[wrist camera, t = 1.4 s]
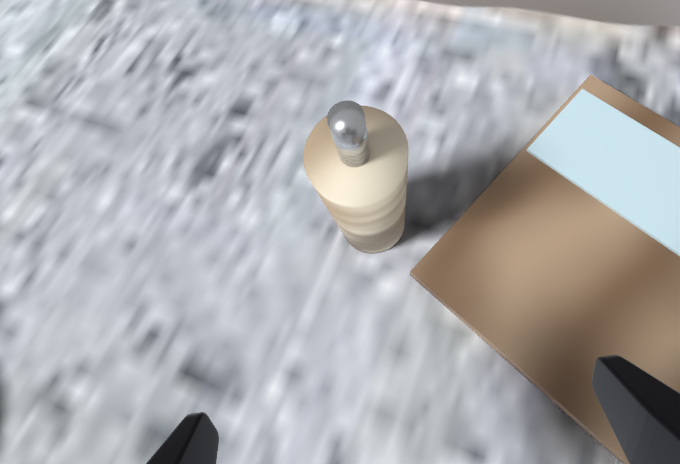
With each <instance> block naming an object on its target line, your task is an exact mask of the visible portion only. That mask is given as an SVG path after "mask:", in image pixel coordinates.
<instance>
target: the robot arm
mask: <svg viewBox="0 0 680 464" xmlns="http://www.w3.org/2000/svg"><path fill="white" fill-rule="evenodd" d="M592 387H593V390H594V393H595V395H596V397H597V399H598V401H599V403H600V405H601V407H602V409H603V411H604V413H605V415H606V417H607V419H608V421H609V423H610V425H611V427H612V429H613V431H614V433H615V435H616V438H617V440H618V442H619V444H620V446H621V448H622V450H623V452H624V454H625V456H626V458H627V460H628V461H629V463H630V464H680V393H679V392H677V391H676V390H674V389H672V388H671V387H669V386H668V385H666V384H665V383H663V382H661V381H660V380H658V379H657V378H655V377H653V376H652V375H650V374H649V373H647V372H645V371H644V370H642V369H641V368H639V367H637V366H636V365H634V364H633V363H631V362H630V361H628V360H626V359H625V358H623V357H621V356H619V355H608V356H601V357H598V358H597V359H596V360H595V365H594V371H593V376H592ZM218 443H219V436H218V432H217V429H216V428H215V426H214V425H213V423H212V422H211V420H210V419H209V417H208V415H207V414H206V413H204V412H200V413H193V414H189V415H187V416H186V417H185V418H184V419H183V420H182V421H181V423H180V424H179V425H178V426H177V427H176V429H175V430H174V431H173V432H172V433H171V435H170V436H169V437H168V438H167V439H166V441H165V442H164V443H163V444H162V445H161V447H160V448H159V449H158V450H157V451H156V453H155V454H154V455H153V456H152V457H151V459H150V460H149V461H148V462H147V463H146V464H216V459H217V451H218Z"/></svg>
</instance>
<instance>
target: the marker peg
mask: <svg viewBox="0 0 680 464" xmlns="http://www.w3.org/2000/svg"><path fill="white" fill-rule="evenodd" d="M303 158H304V167H305V171H306V173H307V176H308V178H309V180H310V181H311V183H312V185H313V186H314V188H315V189H316V191H317V193H318V194H319V196H320V198H321V199H322V201H323V202H324V204H325V206H326V207H327V209H328V210H329V212H330V214H331V215H332V217H333V218H334V220H335V222H336V223H337V225H338V227H339V228H340V230H341V231H342V233H343V235H344V236H345V238H346V239H347V241H348V242H349V243H350V244H351V245H352V246H353V247H354V248H356V249H357V250H359V251H362V252H365V253H380V252H384V251H386V250H388V249H390V248H391V247H393V246H394V245H395V244H396V243H397V242H398V241H399V240H400V238H401V236H402V234H403V231H404V227H405V211H406V191H407V171H408V142H407V139H406V135H405V133H404V131H403V129H402V128H401V126H400V125H399V124H398V122H397V121H396V120H395V119H394V118H393V117H391V116H390V115H389V114H387V113H386V112H384V111H381V110H379V109H376V108H373V107H368V106H360V105H359V104H357V103H356V102H353V101H342V102H339V103H337V104H335V105H334V106H333V107H332V108H331V109H330V111H329V112H328V115H327V116H326V117H324V118H323V119H322V120H321V121H320V122H319V123H318V124H317V125H316V126H315V127H314V128H313V130H312V131H311V133H310V135H309V137H308V139H307V141H306V144H305V148H304V157H303Z"/></svg>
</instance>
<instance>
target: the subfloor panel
mask: <svg viewBox="0 0 680 464" xmlns="http://www.w3.org/2000/svg"><path fill="white" fill-rule="evenodd" d="M410 275H411V276H412V277H413V278H414V279H415V280H416V281H417V282H418V283H420V284H421V285H422V286H423V287H424V288H425V289H426V290H428V291H429V292H430V293H431V294H432V295H433V296H434V297H435V298H437V299H438V300H439V301H440V302H441V303H442V304H443V305H444V306H446V307H447V308H448V309H449V310H450V311H451V312H452V313H454V314H455V315H456V316H457V317H458V318H459V319H460V320H461V321H463V322H464V323H465V324H466V325H467V326H468V327H469V328H470V329H472V330H473V331H474V332H475V333H476V334H477V335H478V336H479V337H481V338H482V339H483V340H484V341H485V342H486V343H487V344H489V345H490V346H491V347H492V348H493V349H494V350H495V351H496V352H498V353H499V354H500V355H501V356H502V357H503V358H504V359H505V360H507V361H508V362H509V363H510V364H511V365H512V366H513V367H515V368H516V369H517V370H518V371H519V372H520V373H521V374H522V375H524V376H525V377H526V378H527V379H528V380H529V381H530V382H531V383H533V384H534V385H535V386H536V387H537V388H538V389H539V390H541V391H542V392H543V393H544V394H545V395H546V396H547V397H548V398H550V399H551V400H552V401H553V402H554V403H555V404H556V405H557V406H559V407H560V408H561V409H562V410H563V411H564V412H565V413H567V414H568V415H569V416H570V417H571V418H572V419H573V420H574V421H576V422H577V423H578V424H579V425H580V426H581V427H582V428H583V429H585V430H586V431H587V432H588V433H589V434H590V435H591V436H592V437H594V438H595V439H596V440H597V441H598V442H599V443H600V444H602V445H603V446H604V447H605V448H606V449H607V450H608V451H609V452H611V453H612V454H613V455H614V456H615V457H616V458H617V459H618V460H620V461H621V462H622V463H623V464H630V463H629V461H628V460H627V458H626V456H625V454H624V452H623V450H622V448H621V446H620V444H619V442H618V440H617V438H616V435H615V433H614V431H613V429H612V427H611V425H610V423H609V421H608V419H607V417H606V415H605V413H604V411H603V409H602V407H601V405H600V403H599V401H598V399H597V397H596V395H595V393H594V390H593V387H592V376H593V371H594V365H595V360H596V359H597V358H598V357H601V356H608V355H619V356H621V357H623V358H625V359H626V360H628V361H630V362H631V363H633V364H634V365H636V366H637V367H639V368H641V369H642V370H644V371H645V372H647V373H649V374H650V375H652V376H653V377H655V378H657V379H658V380H660V381H661V382H663V383H665V384H666V385H668V386H669V387H671V388H672V389H674V390H676V391H677V392H679V393H680V127H678V126H677V125H675V124H673V123H671V122H670V121H668V120H666V119H665V118H663V117H661V116H660V115H658V114H656V113H654V112H653V111H651V110H649V109H648V108H646V107H644V106H643V105H641V104H639V103H638V102H636V101H634V100H632V99H631V98H629V97H627V96H626V95H624V94H622V93H621V92H619V91H617V90H615V89H614V88H612V87H610V86H609V85H607V84H605V83H604V82H602V81H600V80H598V79H597V78H595V77H593V76H592V75H590V76H589V77H588V78H587V79H586V80H585V81H584V82H583V83H582V85H581V86H580V87H579V88H578V89H577V90H576V91H575V92H574V93H573V94H572V95H571V97H570V98H569V99H568V100H567V101H566V102H565V103H564V104H563V105H562V106H561V107H560V109H559V110H558V111H557V112H556V113H555V114H554V115H553V116H552V117H551V118H550V119H549V121H548V122H547V123H546V124H545V125H544V126H543V127H542V128H541V129H540V130H539V132H538V133H537V134H536V135H535V136H534V137H533V138H532V139H531V140H530V141H529V142H528V144H527V145H526V146H525V147H524V148H523V149H522V150H521V151H520V152H519V153H518V154H517V156H516V157H515V158H514V159H513V160H512V161H511V162H510V163H509V164H508V165H507V167H506V168H505V169H504V170H503V171H502V172H501V173H500V174H499V175H498V176H497V177H496V179H495V180H494V181H493V182H492V183H491V184H490V185H489V186H488V187H487V188H486V189H485V191H484V192H483V193H482V194H481V195H480V196H479V197H478V198H477V199H476V200H475V202H474V203H473V204H472V205H471V206H470V207H469V208H468V209H467V210H466V211H465V212H464V214H463V215H462V216H461V217H460V218H459V219H458V220H457V221H456V222H455V223H454V224H453V226H452V227H451V228H450V229H449V230H448V231H447V232H446V233H445V234H444V235H443V236H442V238H441V239H440V240H439V241H438V242H437V243H436V244H435V245H434V246H433V247H432V249H431V250H430V251H429V252H428V253H427V254H426V255H425V256H424V257H423V258H422V259H421V261H420V262H419V263H418V264H417V265H416V266H415V267H414V268H413V269H412V270H411V272H410Z"/></svg>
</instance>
